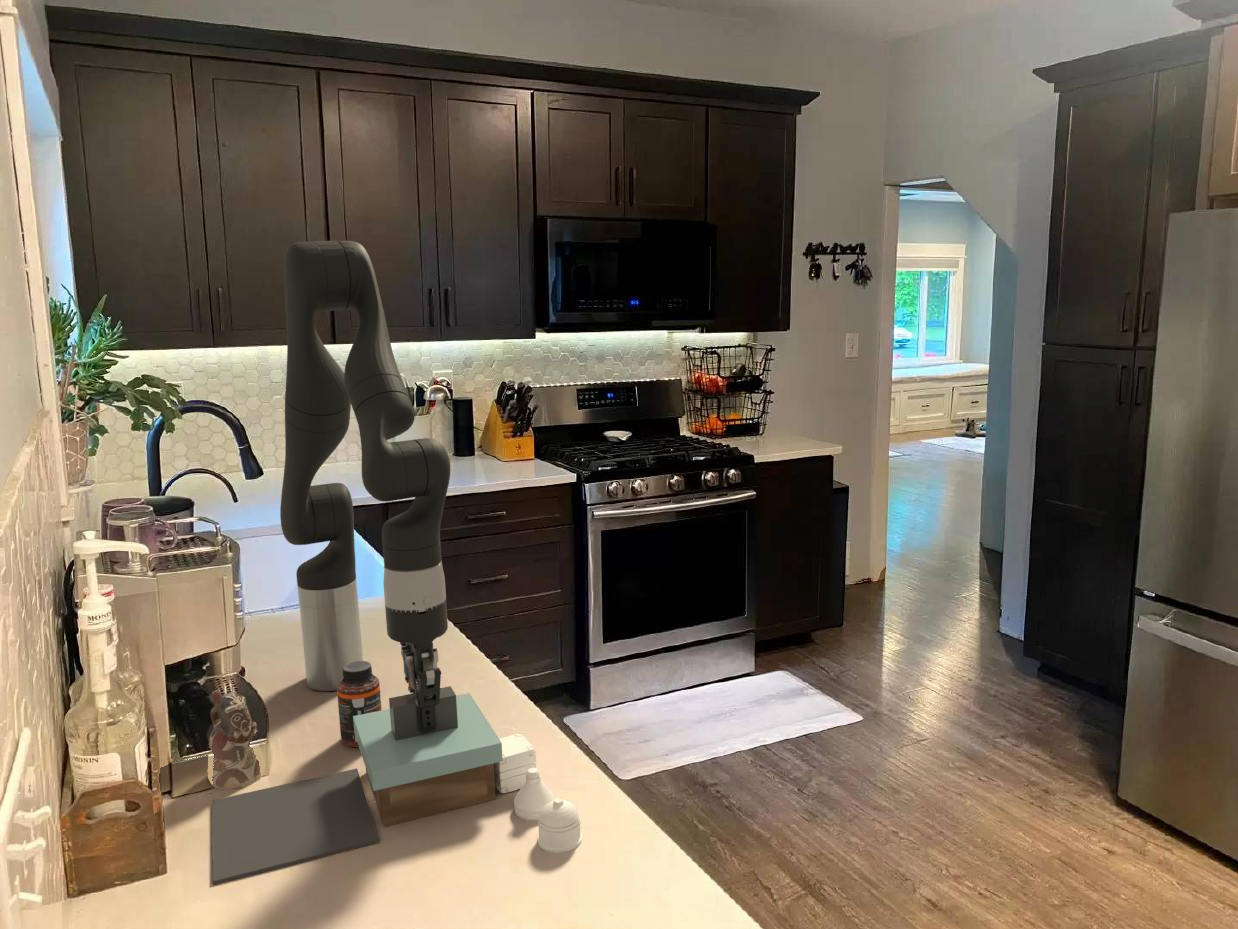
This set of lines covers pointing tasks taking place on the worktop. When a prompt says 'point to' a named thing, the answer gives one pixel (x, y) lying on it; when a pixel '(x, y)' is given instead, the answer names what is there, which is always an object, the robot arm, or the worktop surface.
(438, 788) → the box
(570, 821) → the container set
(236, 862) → the mat
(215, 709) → the figurine
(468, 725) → the lid
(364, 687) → the supplement bottle
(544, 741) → the worktop surface
